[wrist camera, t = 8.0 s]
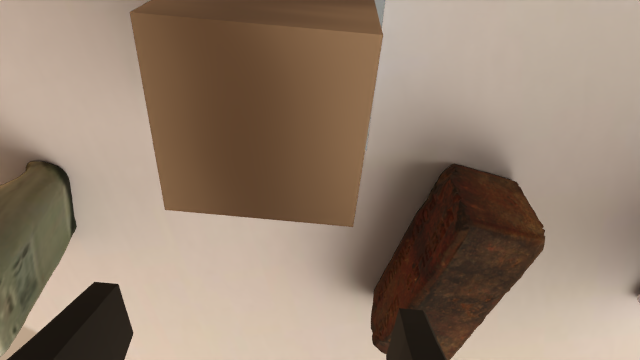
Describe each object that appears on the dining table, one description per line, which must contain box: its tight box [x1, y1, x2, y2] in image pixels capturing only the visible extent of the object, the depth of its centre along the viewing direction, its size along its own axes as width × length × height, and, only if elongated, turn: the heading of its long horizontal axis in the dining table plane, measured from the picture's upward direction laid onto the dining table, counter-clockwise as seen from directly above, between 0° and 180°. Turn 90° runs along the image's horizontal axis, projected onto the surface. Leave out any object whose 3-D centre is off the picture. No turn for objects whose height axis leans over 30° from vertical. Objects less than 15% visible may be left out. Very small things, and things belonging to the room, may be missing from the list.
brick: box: [371, 164, 545, 360], centre depth 21 cm, size 11×4×5 cm, turn 164°
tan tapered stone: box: [0, 161, 77, 357], centre depth 19 cm, size 6×5×8 cm
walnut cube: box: [130, 0, 383, 227], centre depth 12 cm, size 5×5×5 cm
